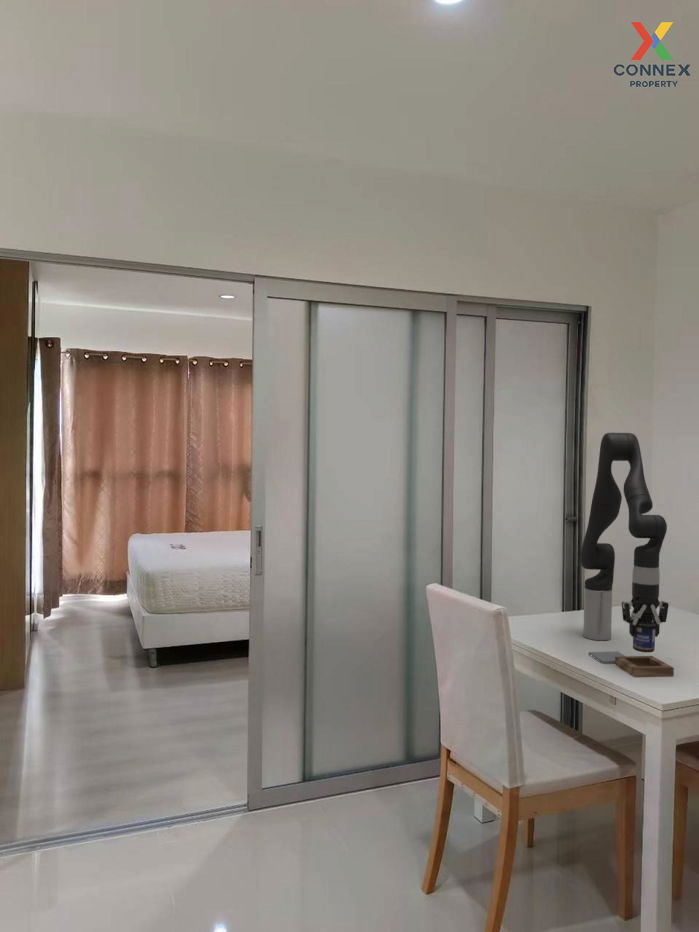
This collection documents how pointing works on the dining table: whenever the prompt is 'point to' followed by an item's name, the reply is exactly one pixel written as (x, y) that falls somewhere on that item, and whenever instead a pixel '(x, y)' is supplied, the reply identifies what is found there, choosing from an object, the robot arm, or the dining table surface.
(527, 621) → the dining table surface
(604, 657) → the grey pad
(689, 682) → the dining table surface
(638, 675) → the walnut holder
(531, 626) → the dining table surface
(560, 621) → the dining table surface
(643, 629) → the pill bottle
